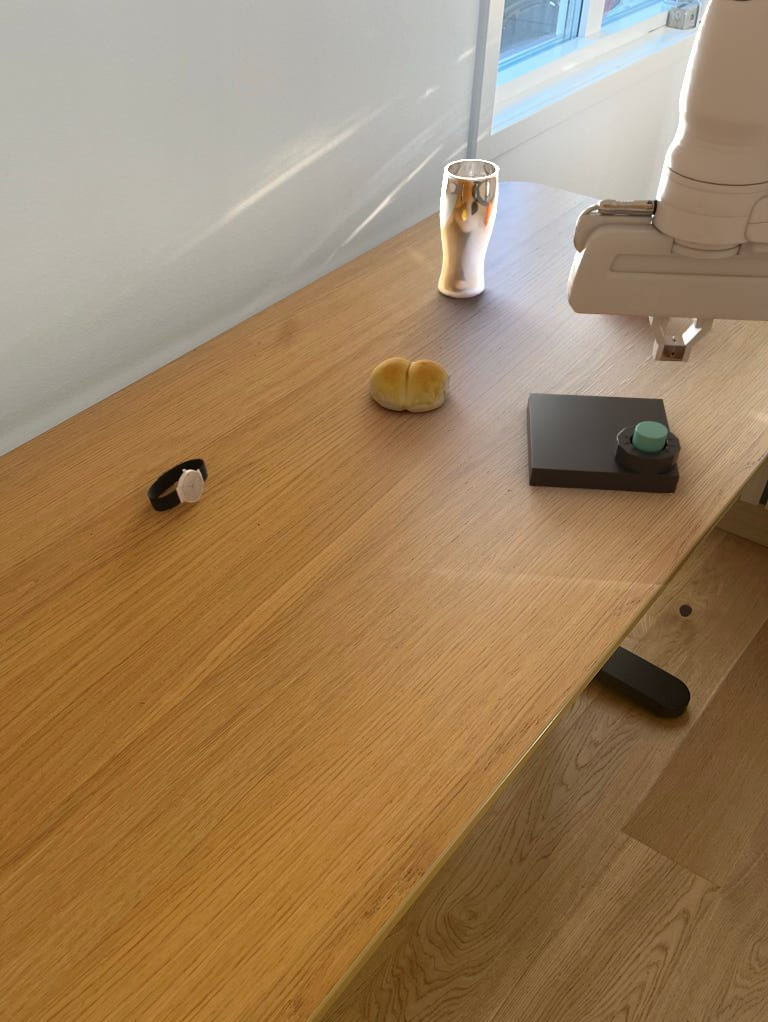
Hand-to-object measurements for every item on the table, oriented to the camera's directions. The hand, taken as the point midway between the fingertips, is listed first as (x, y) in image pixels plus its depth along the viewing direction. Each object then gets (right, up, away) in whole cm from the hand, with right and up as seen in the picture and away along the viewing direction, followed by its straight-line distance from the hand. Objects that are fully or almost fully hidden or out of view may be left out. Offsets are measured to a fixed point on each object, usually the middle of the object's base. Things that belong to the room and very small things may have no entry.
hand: (669, 358), depth 86 cm
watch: (-46, -11, +10) cm, 48 cm away
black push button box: (-3, -6, +13) cm, 14 cm away
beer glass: (-12, +21, +39) cm, 46 cm away
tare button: (+1, -7, +7) cm, 9 cm away
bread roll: (-21, +2, +22) cm, 30 cm away
